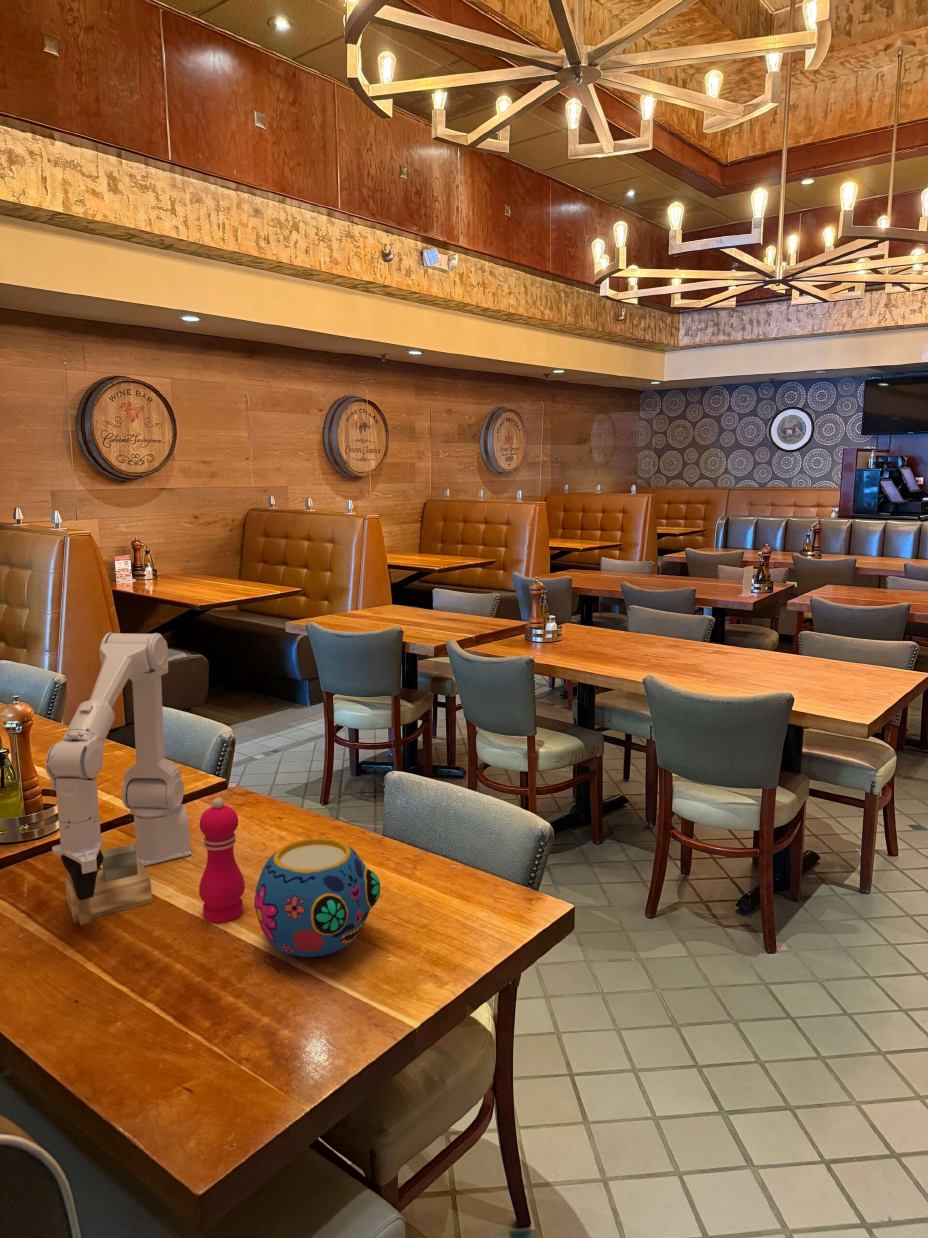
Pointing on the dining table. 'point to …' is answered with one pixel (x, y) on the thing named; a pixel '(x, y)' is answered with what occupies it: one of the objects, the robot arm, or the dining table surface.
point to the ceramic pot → (314, 897)
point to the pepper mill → (220, 865)
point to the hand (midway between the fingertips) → (85, 897)
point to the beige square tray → (108, 903)
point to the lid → (117, 872)
